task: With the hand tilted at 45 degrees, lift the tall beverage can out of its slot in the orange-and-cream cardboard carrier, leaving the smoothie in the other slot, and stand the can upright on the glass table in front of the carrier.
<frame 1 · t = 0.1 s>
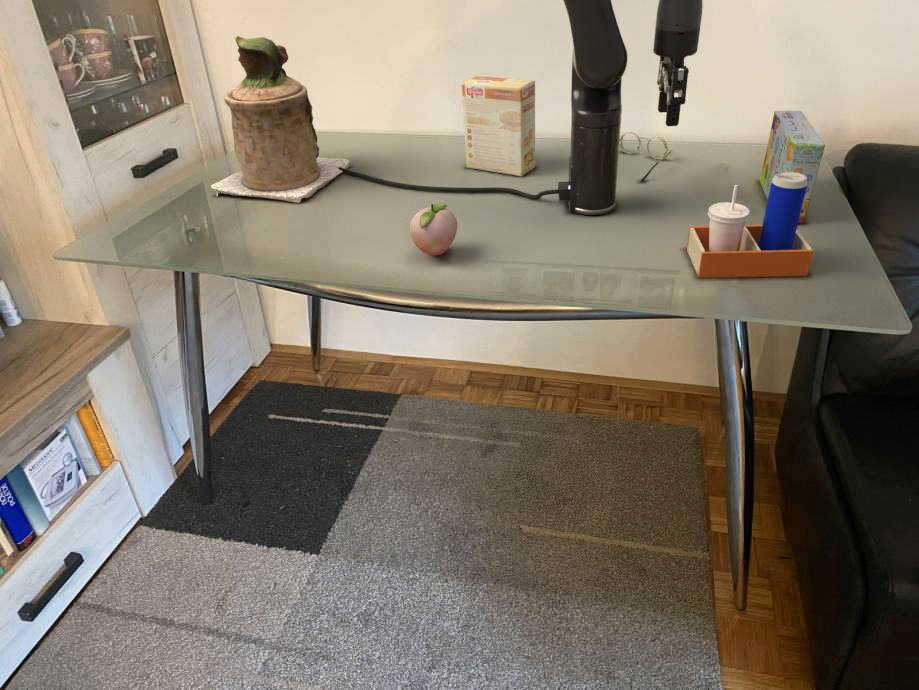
hand: (667, 118, 128), 17 cm above the table, tool pointing down, fingers open, 8 cm apart
smoothie: (719, 263, 117), resting in carrier
round eyeglasses: (627, 166, 157), on the table
cookie jar: (284, 181, 162), on the table
beverage can: (771, 262, 116), resting in carrier
coffeecake box: (500, 168, 161), on the table
snack box: (780, 202, 136), on the table
decorative fruit: (435, 256, 126), on the table
carrier: (744, 262, 117), on the table
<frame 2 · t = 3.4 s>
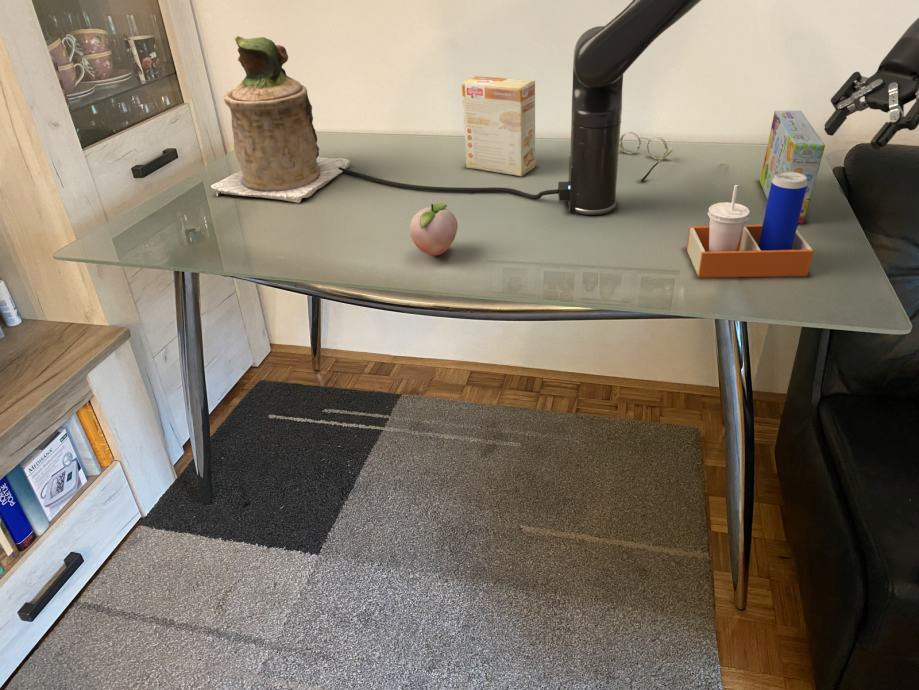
hand: (850, 139, 109), 19 cm above the table, tool tilted 45°, fingers open, 8 cm apart
nothing on the table moved.
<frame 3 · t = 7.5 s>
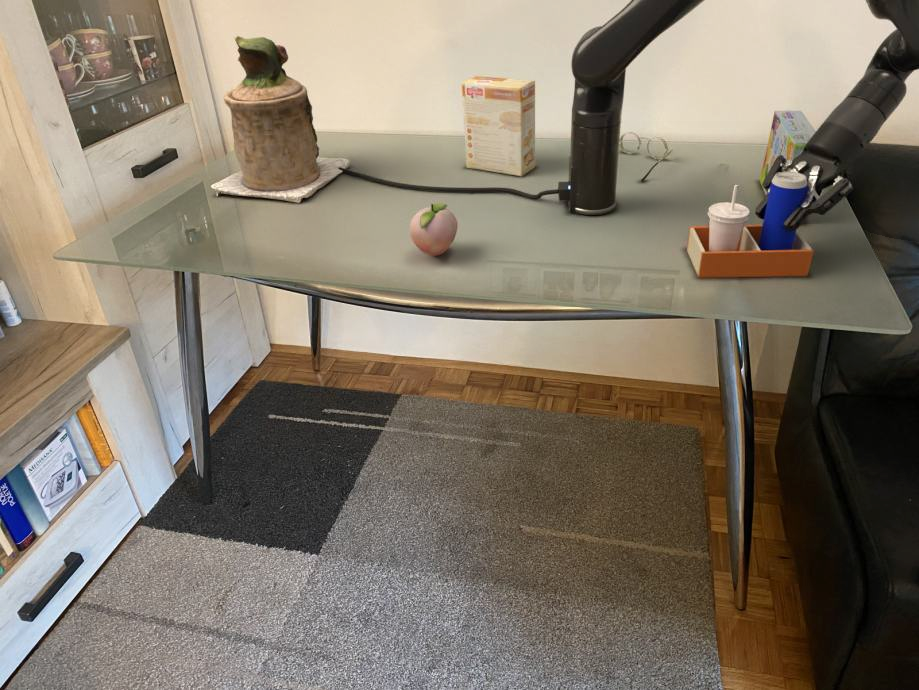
hand: (772, 222, 111), 8 cm above the table, tool tilted 45°, fingers closed on beverage can, 5 cm apart
beverage can: (771, 262, 116), resting in carrier, touching gripper
everything else where it was.
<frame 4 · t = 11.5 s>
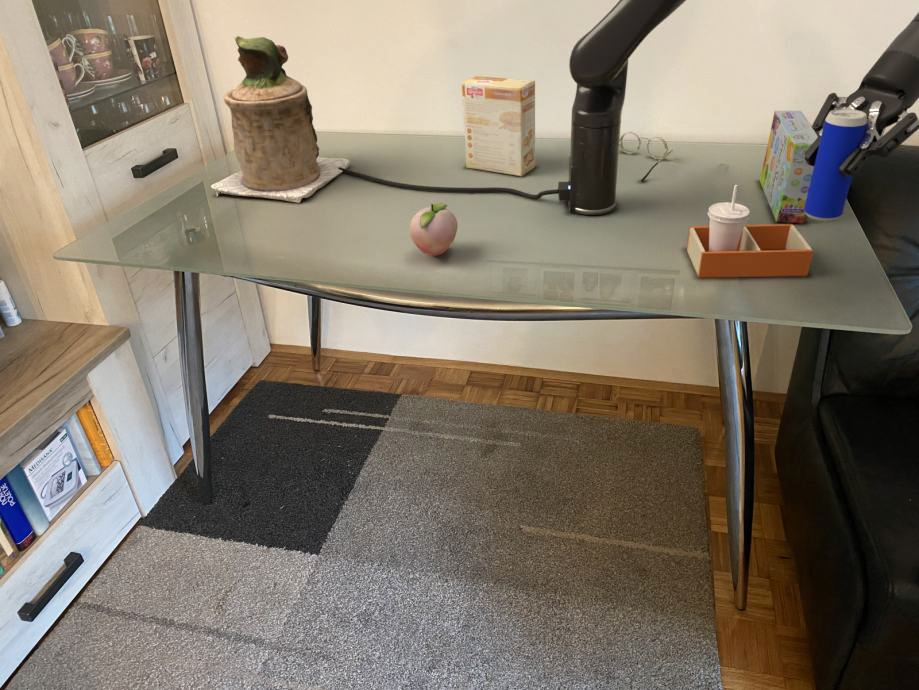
hand: (825, 168, 98), 20 cm above the table, tool tilted 45°, fingers closed on beverage can, 5 cm apart
beverage can: (821, 216, 103), point 12 cm above the table, touching gripper
everything else where it was.
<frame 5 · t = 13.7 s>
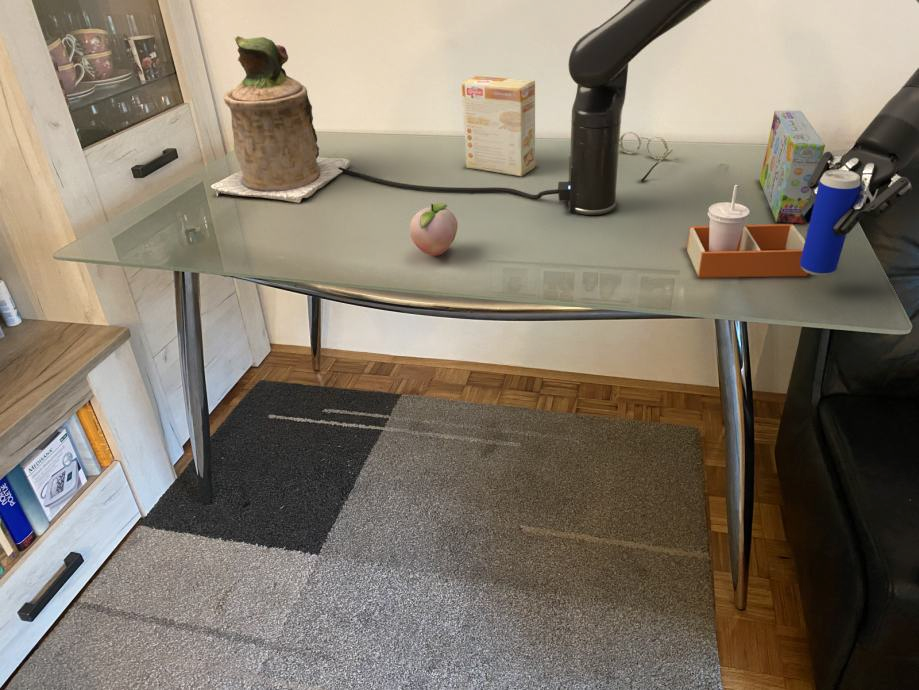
hand: (820, 226, 101), 12 cm above the table, tool tilted 45°, fingers closed on beverage can, 5 cm apart
beverage can: (816, 270, 106), point 4 cm above the table, touching gripper
everything else where it was.
when the fingers open (8 cm above the table, at t = 15.3 s): beverage can stays where it is, on the table.
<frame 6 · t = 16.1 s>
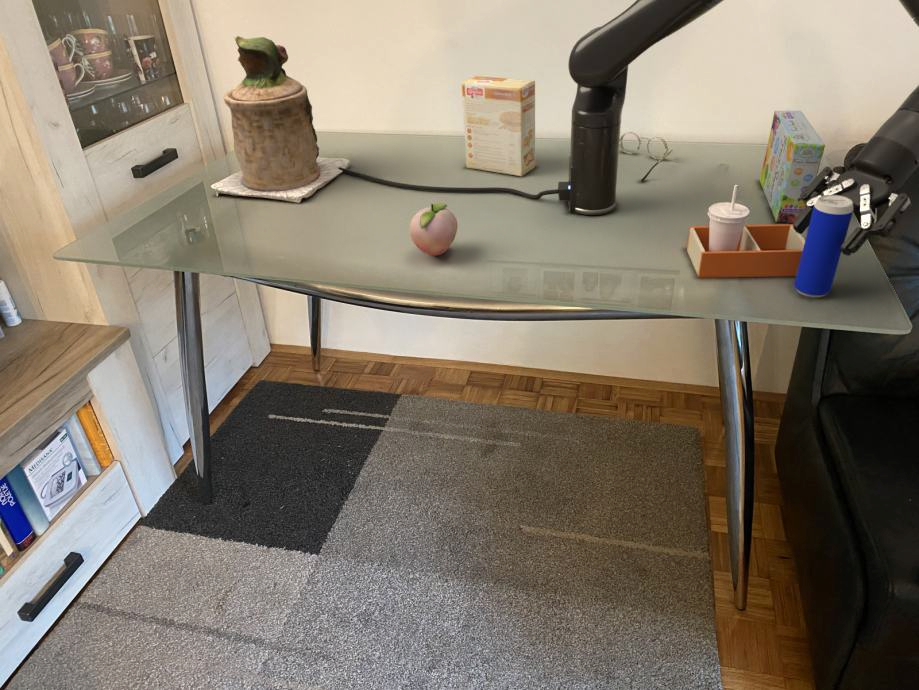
hand: (819, 241, 102), 9 cm above the table, tool tilted 45°, fingers open, 8 cm apart
beverage can: (811, 291, 108), on the table
everything else where it was.
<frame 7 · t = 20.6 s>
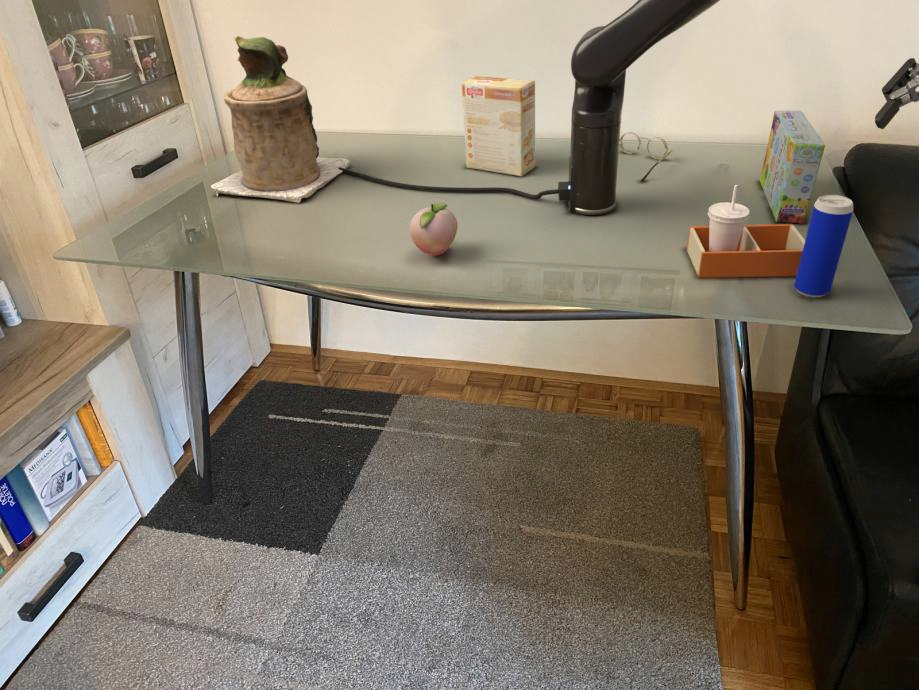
hand: (904, 133, 99), 23 cm above the table, tool tilted 45°, fingers open, 8 cm apart
nothing on the table moved.
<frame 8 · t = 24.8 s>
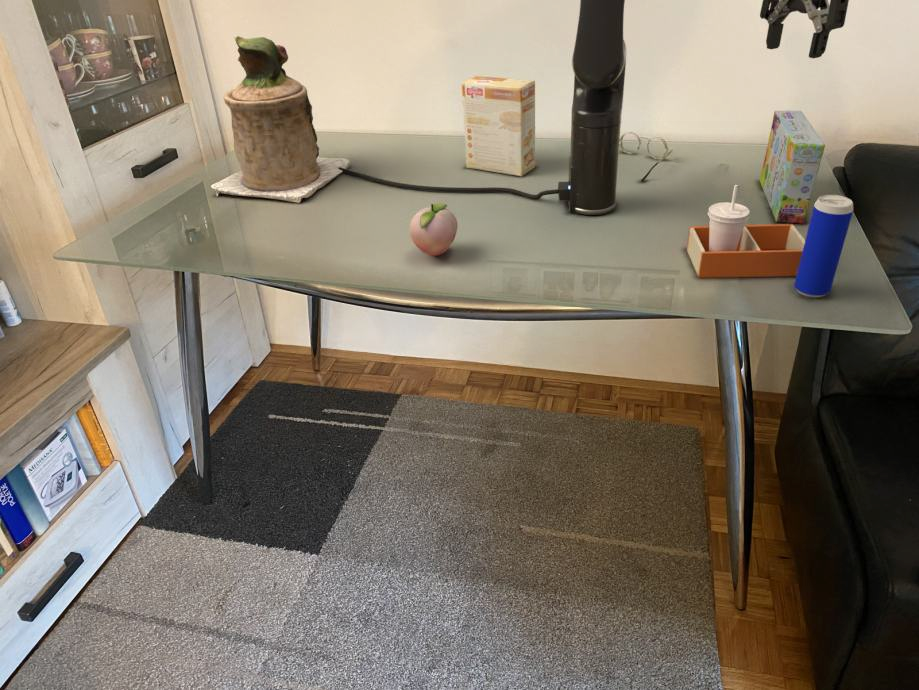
hand: (793, 52, 111), 30 cm above the table, tool pointing down, fingers open, 8 cm apart
nothing on the table moved.
at the end: beverage can inside the target area on the table beside the carrier (2.6 cm from its centre), on the table; beverage can tilted 0°; smoothie inside the target area on the carrier (0.0 cm from its centre), point 0.0 cm above the carrier's base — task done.
